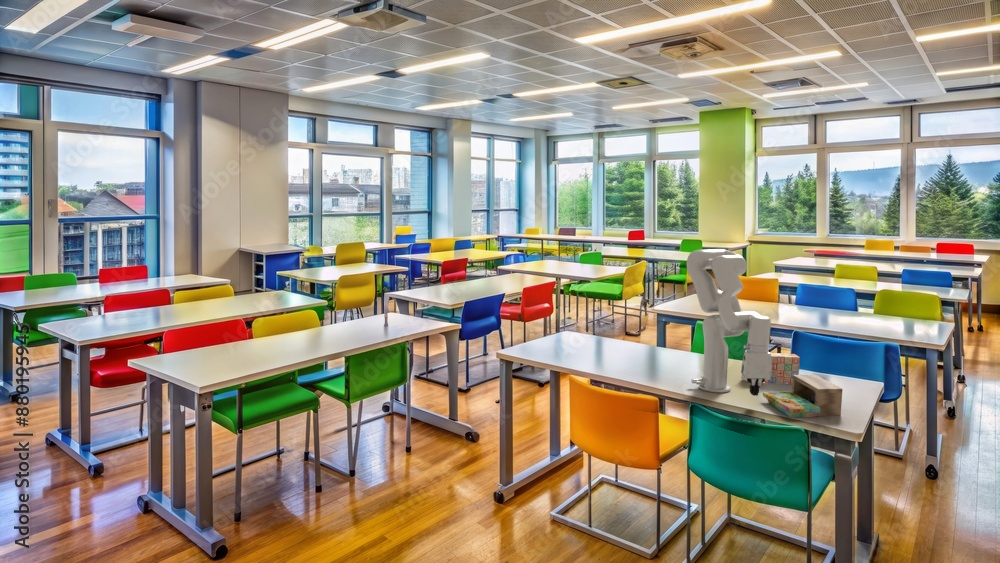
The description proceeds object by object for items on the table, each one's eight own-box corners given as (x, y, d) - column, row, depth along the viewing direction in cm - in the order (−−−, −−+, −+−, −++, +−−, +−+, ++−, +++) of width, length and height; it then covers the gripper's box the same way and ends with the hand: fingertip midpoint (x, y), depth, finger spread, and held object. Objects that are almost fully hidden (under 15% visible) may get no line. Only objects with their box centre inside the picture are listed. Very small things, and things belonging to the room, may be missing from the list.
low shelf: (816, 415, 222) (818, 389, 220) (791, 399, 240) (792, 374, 239) (840, 415, 222) (842, 388, 220) (813, 399, 240) (815, 374, 239)
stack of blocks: (746, 382, 264) (748, 355, 262) (743, 378, 270) (744, 351, 268) (798, 384, 261) (800, 356, 259) (793, 380, 267) (795, 353, 265)
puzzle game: (789, 406, 218) (762, 390, 238) (788, 419, 219) (762, 401, 238) (820, 406, 218) (791, 389, 238) (819, 418, 219) (791, 401, 239)
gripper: (742, 350, 225) (738, 397, 227) (782, 351, 225) (778, 398, 228) (734, 345, 232) (730, 391, 235) (772, 345, 232) (769, 391, 235)
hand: (754, 394), depth 231 cm, fingers closed
